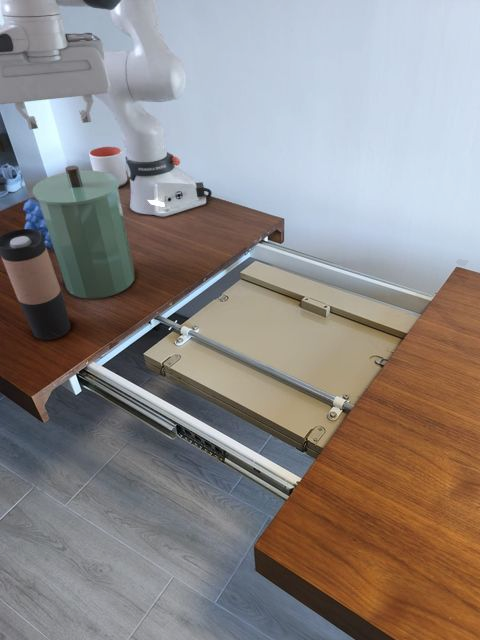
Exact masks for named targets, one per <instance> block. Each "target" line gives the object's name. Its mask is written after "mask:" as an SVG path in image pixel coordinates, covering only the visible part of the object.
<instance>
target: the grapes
mask: <svg viewBox="0 0 480 640" xmlns="http://www.w3.org/2000/svg"><path fill="white" fill-rule="evenodd" d="M22 210H23V211H24V212H25V221H26V222H25V224H24V229H34V230H37V231H39V232H40V233H41V234H42V236H43V239H44V242H45V245H46V248H48V249H51V250H54V249H53V246H52V243H51V239H50V236H49V233H48V230H47V227H46V224H45V221H44V218H43V214H42V211H41V208H40V205H39V202H38V200H35V199H32V198H29V199H28V200H27V201H25V202H24V204H23V209H22Z"/></svg>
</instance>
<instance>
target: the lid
mask: <svg viewBox="0 0 480 640" xmlns="http://www.w3.org/2000/svg"><path fill="white" fill-rule="evenodd" d="M117 189H118V190H119V181H118V179H117V178H116V177H115V176H114V175H112V174H109V173H106V172H101V171H93V170H80V169H79V166H78V165H69V166H66V167H65V172H62V173H58V174H54V175H52V176H48V177H46V178H44V179H42V180H40V181H38V182H37V183H36V184H35V185H34V186H33V188H32V195H33V197H34V199H36V201H37V202H38V201H40V202H43V203H46V204H51V205H78V204H85V203H90V202H94V201H97V200H100V199H103V198H105V197H108V196H109V195H111V194H113V193H114V192H115V191H116V190H117Z"/></svg>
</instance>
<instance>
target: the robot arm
mask: <svg viewBox="0 0 480 640" xmlns="http://www.w3.org/2000/svg"><path fill="white" fill-rule="evenodd" d="M60 7H65V8H66V7H68V8H69V7H70V8H72V7H73V8H74V7H75V8H93V9H100V10H107V11H109V12H110V13H109V14H110V17H111V20H112V23H113V24H114V26H115V28H117V29H118V30H119V31H120V32H122V33H123V34H125V35H126V36H128V37H129V38H131V39H132V42H133V50H118V49H116V50H114V49H105V48H104V43H103V41H102V40H101V38H100V37H98V36H97V35H94V34H93V33H92V32H84V33H76V32H75V33H66V30H65V25H64V21H63V17H62V13H61V9H60ZM0 9H1V15H2V18H3V22H4V23H3V24H1V25H0V105H8V104H14V106H15V109H16V111H17V112H18V113H19V114H20V115H21V116H22V117H23V118H24V119H25V121H26V124H27V128H28V129H29V130H35V129H39V127H38V123H37V120H36V117H35V115H28V113H27V112H26V111H25V109H26V106H25V103H27V102H36V101H37V102H38V101H47V100H55V99H64V98H65V99H66V98H75V97H82V99H83V101H84V102H85V103H84V106H83V109H82V110H79V115H80V120H81V122H82V123H84V124H85V123H91V122H92V119H91V114H90V112H91V110H92V107H93V103H94V99H93V96H94V97H96V98H97V99H98V100H100V101H101V102H102V103H103V104H104V105H105V106H106V107H107V108H108V110H109V111H110V113H112V116H113V117H114V118H115V120H116V123H117V124H118V126H119V129H120V132H121V137H122V140H123V144H124V149H125V155H126V156H125V168H126V174H127V177H128V178H129V184H130V198H129V199H130V201H129V208H130V209H131V210H132V211H133V212H135V213H138V214H142V215H151V216H153V215H154V216H156V217H162V218H165V217H168V216H172V215H175V214H179V213H182V212H185V211H187V210H190V209H194V208H196V207H200V206H203V205H206V203H207V198H208V199H210V198H211V197H212V194H213V193H212V190H211V189H210V188H207V187H205V186H204V182H203V181H201V182H196V181H195V179H194V177H192V176H191V175H190V174H189V173H187V172H186V171H185V170H183V169H182V168H179V167H177V166H179V165H180V164H181V160H180V158H178V157H177V156H175V155H173V154H172V153H170V152H168V151H167V143H166V135H165V129H164V126H163V124H162V122H161V121H160V120H159V119H158V118H157V117H155V116H154V115H152V114H150V113H149V112H148V111H147V110H146V109H145V108H144V107H143V105H142V103H141V102H149V103H165V102H170V101H175V100H178V99H180V98H181V97H182V95H183V93H184V92H185V89H186V85H187V75H186V70H185V67H184V65H183V63H182V61H181V59H180V58H179V57H178V56H176V55H175V54H174V53H173V52H172V51H171V50H170V48H169V47H168V45H167V43H166V41H165V40H164V38H163V35H162V32H161V29H160V23H159V11H158V0H0ZM205 192H206V193H207V195H206V193H205Z"/></svg>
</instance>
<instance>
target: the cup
mask: <svg viewBox="0 0 480 640" xmlns="http://www.w3.org/2000/svg"><path fill="white" fill-rule="evenodd" d="M88 156H89V160H90V165H91V169H92V171H101V172H106V173H109V174H112V175H114V176H115V177H116V178H117V179H118V181H119V187H122V186H124V185H125V184H126V183H127V182H128V173H127V168H126V162H125V158H124V152H123V150H122V148H121V147H117V146H101V147H97V148H93V149H91V150H90V151H89V152H88ZM119 187H118V188H119Z"/></svg>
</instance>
